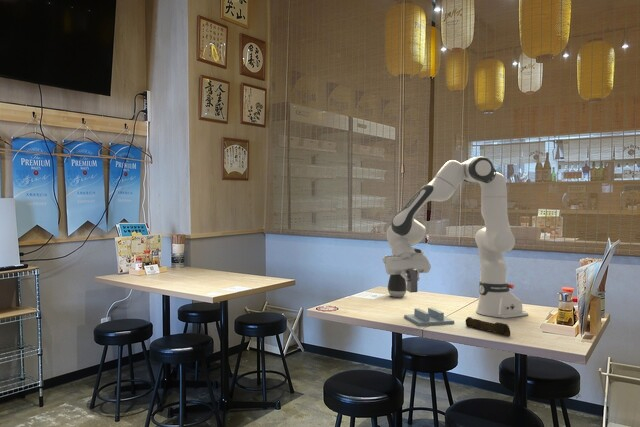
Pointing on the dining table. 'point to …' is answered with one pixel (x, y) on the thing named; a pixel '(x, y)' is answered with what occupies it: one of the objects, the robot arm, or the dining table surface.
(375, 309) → the dining table surface
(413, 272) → the end link
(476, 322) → the dark brown bar
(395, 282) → the black egg shape
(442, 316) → the keeper
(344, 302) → the dining table surface
